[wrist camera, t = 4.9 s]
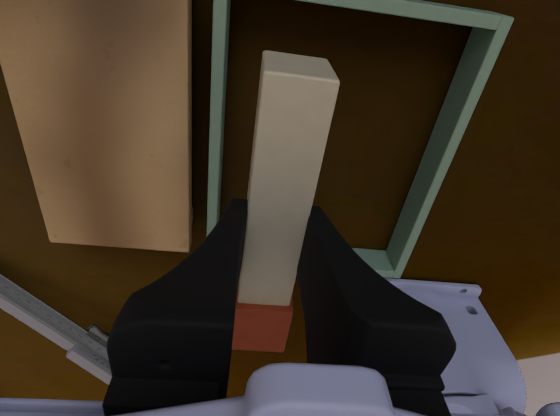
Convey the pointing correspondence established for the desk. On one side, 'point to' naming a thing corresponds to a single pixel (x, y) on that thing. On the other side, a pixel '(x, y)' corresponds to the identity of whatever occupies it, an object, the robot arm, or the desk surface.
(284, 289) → the white bar red tip
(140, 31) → the l-shaped wooden board
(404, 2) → the rectangular frame
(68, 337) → the caliper
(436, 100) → the desk surface
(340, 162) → the desk surface
